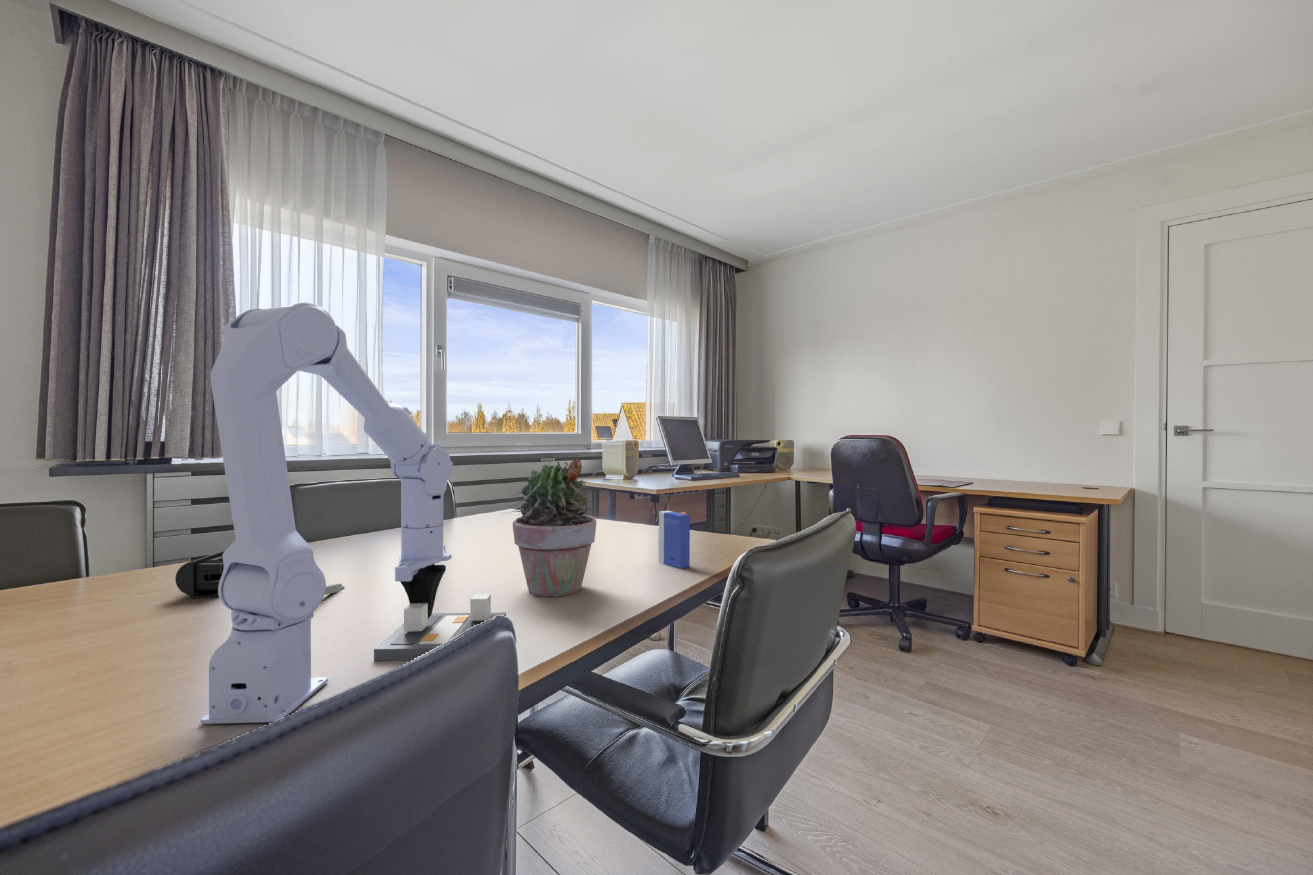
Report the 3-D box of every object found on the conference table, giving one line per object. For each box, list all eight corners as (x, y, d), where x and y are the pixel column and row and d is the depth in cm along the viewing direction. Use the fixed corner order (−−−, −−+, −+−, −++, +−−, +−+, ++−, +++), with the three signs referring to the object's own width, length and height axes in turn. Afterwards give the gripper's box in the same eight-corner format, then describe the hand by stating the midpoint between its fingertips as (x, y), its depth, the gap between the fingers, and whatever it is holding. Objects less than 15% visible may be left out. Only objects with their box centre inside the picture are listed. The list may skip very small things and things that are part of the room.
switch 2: (486, 620, 82) (486, 598, 82) (470, 620, 82) (470, 599, 82) (490, 614, 84) (490, 594, 84) (474, 615, 84) (474, 594, 84)
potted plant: (530, 572, 117) (530, 454, 116) (616, 581, 111) (616, 456, 110) (477, 597, 99) (477, 458, 99) (575, 608, 93) (576, 461, 93)
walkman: (689, 567, 122) (690, 513, 122) (680, 569, 120) (680, 514, 120) (667, 560, 128) (667, 508, 128) (658, 562, 127) (658, 509, 127)
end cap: (212, 584, 107) (212, 549, 107) (252, 583, 108) (252, 548, 108) (174, 600, 97) (174, 562, 97) (218, 599, 98) (218, 561, 98)
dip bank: (482, 658, 73) (482, 645, 73) (373, 660, 72) (373, 647, 72) (506, 621, 87) (506, 611, 87) (415, 623, 86) (415, 612, 86)
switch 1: (421, 631, 77) (421, 608, 77) (404, 631, 77) (404, 608, 77) (427, 625, 80) (427, 603, 80) (410, 625, 80) (410, 603, 80)
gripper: (433, 534, 74) (433, 635, 74) (464, 517, 88) (464, 601, 89) (379, 534, 74) (379, 635, 74) (419, 517, 88) (419, 602, 88)
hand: (422, 617), depth 81 cm, fingers closed
